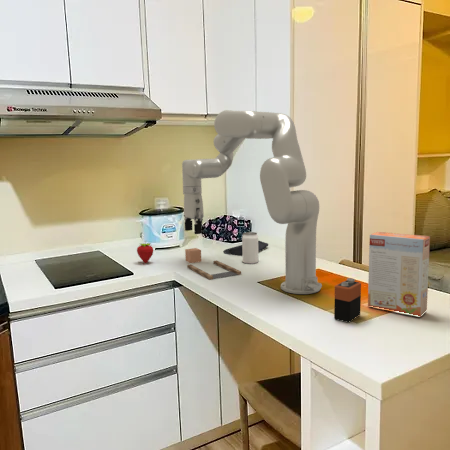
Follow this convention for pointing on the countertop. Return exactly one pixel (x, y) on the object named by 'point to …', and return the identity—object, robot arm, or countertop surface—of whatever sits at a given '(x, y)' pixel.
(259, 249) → the dark slate chunk
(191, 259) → the block
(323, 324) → the countertop surface
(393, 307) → the cracker box
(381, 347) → the countertop surface
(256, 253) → the can
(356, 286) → the battery
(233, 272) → the channel
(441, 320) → the countertop surface
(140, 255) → the strawberry
